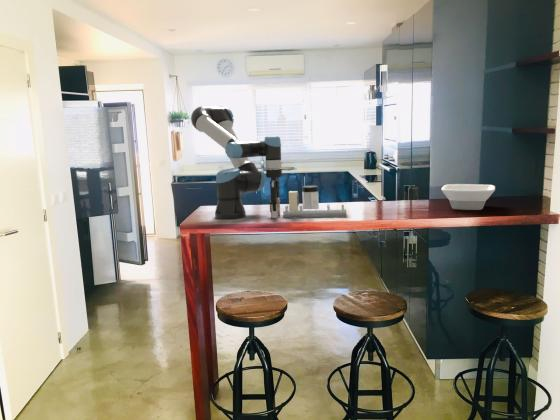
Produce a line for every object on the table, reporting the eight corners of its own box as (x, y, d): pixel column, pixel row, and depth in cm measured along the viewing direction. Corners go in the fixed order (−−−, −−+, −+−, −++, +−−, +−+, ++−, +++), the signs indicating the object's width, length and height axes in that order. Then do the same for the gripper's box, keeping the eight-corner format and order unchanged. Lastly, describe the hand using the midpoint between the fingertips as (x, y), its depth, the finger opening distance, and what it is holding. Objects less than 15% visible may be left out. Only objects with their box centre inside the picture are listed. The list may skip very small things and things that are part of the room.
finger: (270, 217, 222) (269, 199, 220) (271, 216, 226) (270, 197, 224) (279, 217, 221) (278, 198, 220) (280, 215, 225) (279, 197, 224)
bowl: (494, 204, 234) (495, 184, 233) (494, 212, 212) (495, 190, 210) (444, 203, 245) (444, 183, 243) (439, 210, 222) (439, 189, 220)
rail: (282, 218, 219) (281, 193, 217) (284, 214, 227) (283, 190, 225) (346, 217, 215) (346, 191, 213) (346, 213, 224) (345, 189, 222)
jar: (308, 211, 236) (307, 187, 234) (299, 209, 243) (298, 186, 241) (322, 208, 241) (321, 186, 239) (312, 207, 247) (312, 185, 245)
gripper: (279, 170, 210) (281, 219, 213) (283, 167, 229) (285, 212, 233) (262, 170, 210) (265, 220, 214) (268, 167, 230) (271, 212, 234)
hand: (275, 216), depth 223 cm, fingers open, 7 cm apart
